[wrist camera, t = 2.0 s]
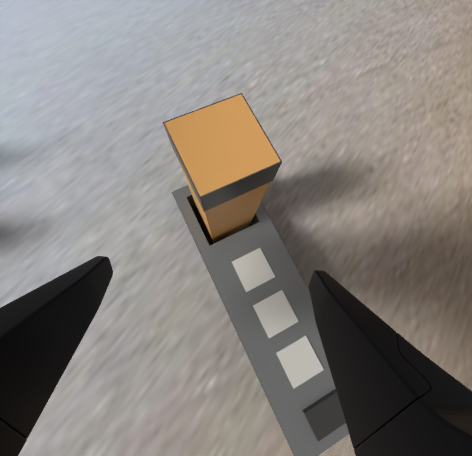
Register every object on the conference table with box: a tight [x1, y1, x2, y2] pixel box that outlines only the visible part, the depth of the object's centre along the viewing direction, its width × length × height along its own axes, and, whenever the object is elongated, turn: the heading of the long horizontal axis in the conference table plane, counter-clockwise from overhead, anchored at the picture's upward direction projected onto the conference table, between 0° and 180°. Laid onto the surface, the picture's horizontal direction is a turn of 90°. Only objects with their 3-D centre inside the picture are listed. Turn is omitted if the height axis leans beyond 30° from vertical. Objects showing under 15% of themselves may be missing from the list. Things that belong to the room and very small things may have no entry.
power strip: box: [172, 185, 349, 456], centre depth 19 cm, size 24×7×3 cm, turn 27°
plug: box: [163, 93, 282, 243], centre depth 16 cm, size 4×4×13 cm
